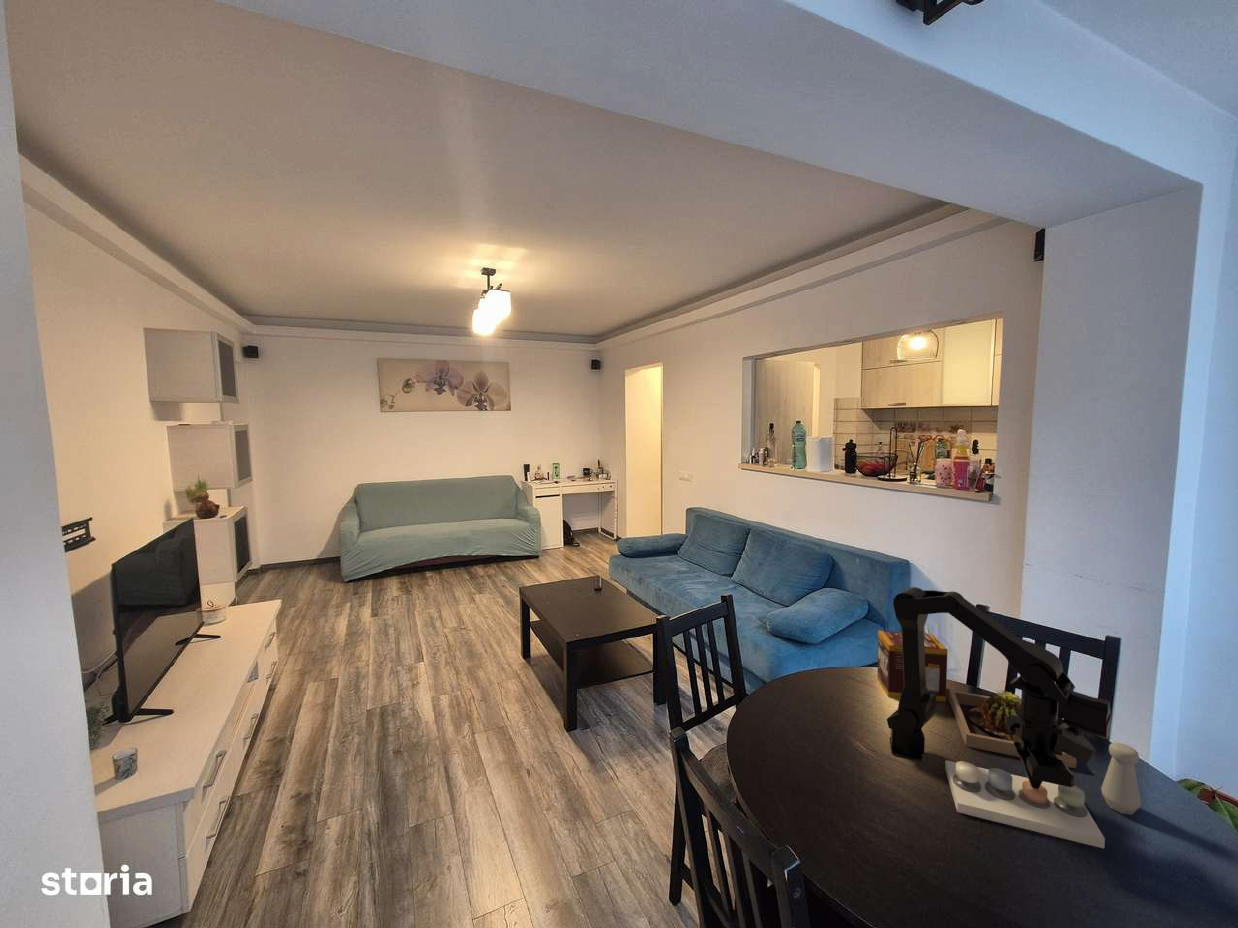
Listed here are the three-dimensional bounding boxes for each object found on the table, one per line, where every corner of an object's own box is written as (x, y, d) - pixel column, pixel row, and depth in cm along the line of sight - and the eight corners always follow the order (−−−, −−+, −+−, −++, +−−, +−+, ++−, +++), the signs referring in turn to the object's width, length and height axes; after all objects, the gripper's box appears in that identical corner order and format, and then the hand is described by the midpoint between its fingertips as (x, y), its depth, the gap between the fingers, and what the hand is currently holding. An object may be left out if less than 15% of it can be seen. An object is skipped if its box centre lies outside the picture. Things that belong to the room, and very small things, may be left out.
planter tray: (965, 746, 124) (966, 734, 123) (949, 699, 144) (949, 689, 144) (1076, 768, 115) (1076, 755, 115) (1041, 716, 135) (1042, 705, 135)
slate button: (990, 787, 105) (991, 778, 105) (986, 774, 109) (986, 766, 108) (1014, 792, 103) (1015, 783, 103) (1008, 779, 107) (1009, 770, 107)
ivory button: (957, 779, 107) (958, 770, 107) (954, 767, 111) (954, 759, 111) (980, 784, 106) (980, 775, 106) (975, 772, 109) (976, 763, 109)
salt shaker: (1148, 820, 100) (1153, 758, 99) (1114, 816, 102) (1118, 754, 100) (1125, 798, 106) (1129, 739, 105) (1093, 794, 107) (1097, 736, 106)
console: (957, 811, 103) (957, 800, 103) (945, 768, 116) (945, 758, 116) (1104, 848, 94) (1104, 836, 94) (1073, 796, 107) (1074, 785, 107)
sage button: (1061, 803, 100) (1062, 793, 100) (1054, 789, 104) (1054, 780, 104) (1088, 809, 99) (1088, 799, 98) (1079, 795, 102) (1080, 786, 102)
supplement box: (876, 679, 156) (877, 629, 155) (931, 683, 153) (933, 633, 152) (887, 697, 146) (888, 644, 145) (946, 702, 143) (948, 648, 141)
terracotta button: (1025, 800, 103) (1025, 791, 103) (1019, 787, 106) (1019, 778, 106) (1050, 806, 101) (1050, 797, 101) (1043, 792, 105) (1043, 783, 105)
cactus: (1062, 735, 127) (1065, 698, 126) (1033, 758, 119) (1035, 718, 119) (985, 703, 142) (987, 669, 141) (954, 721, 134) (956, 685, 134)
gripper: (1113, 752, 90) (1107, 833, 92) (1071, 698, 107) (1066, 768, 109) (1035, 737, 95) (1030, 815, 96) (1006, 688, 112) (1003, 755, 113)
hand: (1034, 787), depth 104 cm, fingers closed
